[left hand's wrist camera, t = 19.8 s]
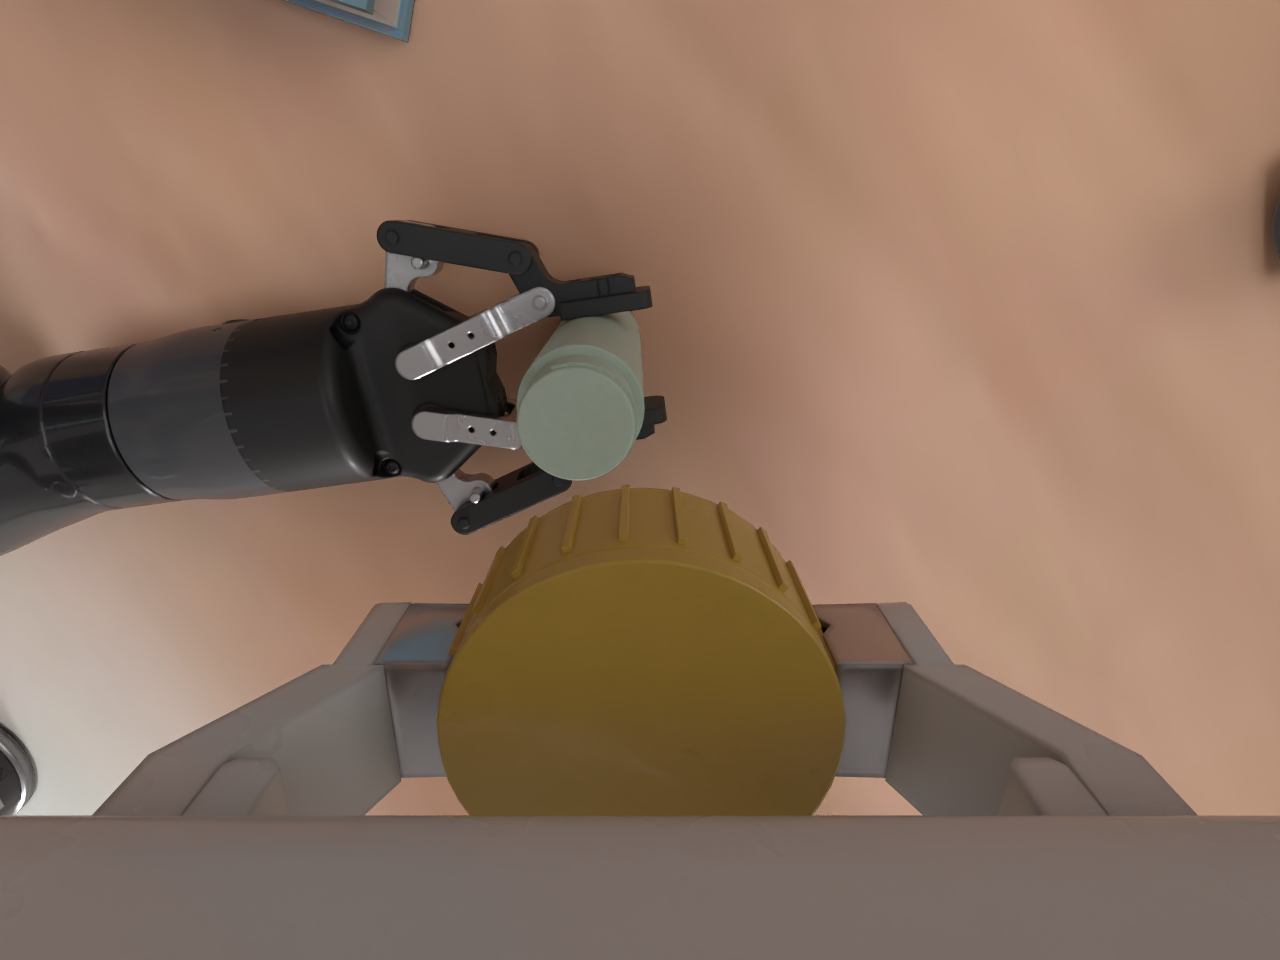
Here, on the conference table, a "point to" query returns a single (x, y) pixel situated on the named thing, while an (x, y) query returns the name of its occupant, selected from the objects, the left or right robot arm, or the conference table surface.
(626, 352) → the jar
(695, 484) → the conference table surface
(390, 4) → the book
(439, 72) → the conference table surface
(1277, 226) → the laser sight
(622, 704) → the lid
